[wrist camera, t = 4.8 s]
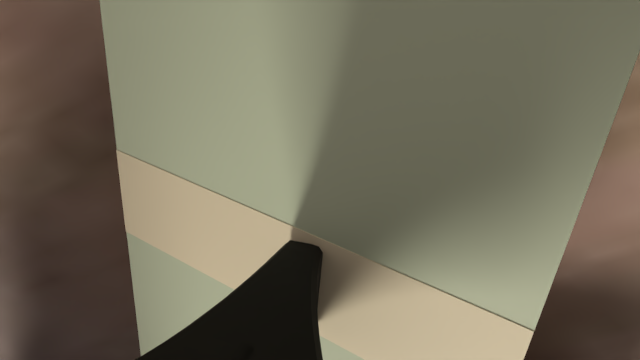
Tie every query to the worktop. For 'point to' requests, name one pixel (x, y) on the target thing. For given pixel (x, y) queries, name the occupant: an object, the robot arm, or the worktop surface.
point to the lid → (363, 157)
